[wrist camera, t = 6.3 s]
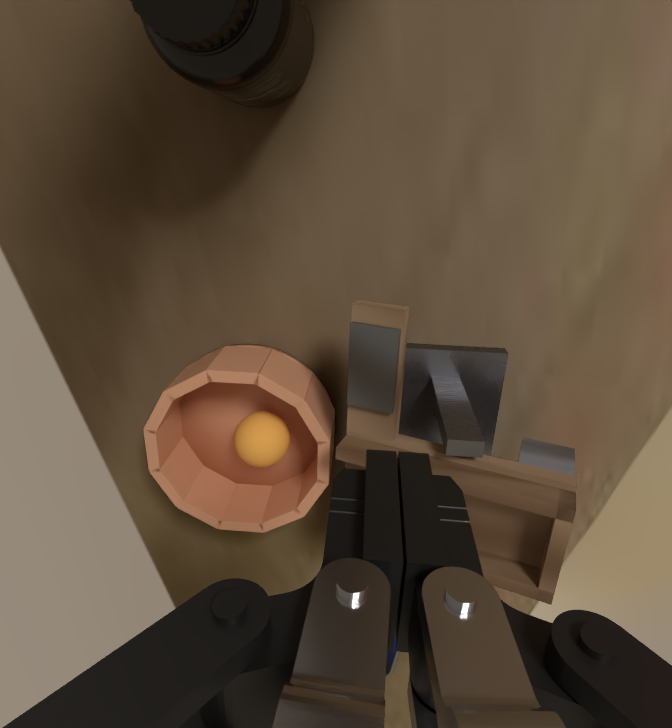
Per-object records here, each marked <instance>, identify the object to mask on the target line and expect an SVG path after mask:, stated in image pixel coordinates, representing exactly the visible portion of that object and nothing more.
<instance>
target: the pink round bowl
mask: <svg viewBox="0 0 672 728" xmlns="http://www.w3.org/2000/svg"><path fill="white" fill-rule="evenodd" d="M260 411H266V412H271V413H273V414H276V415H277V416H279V417H280V418H281V419H282V420H283V421H284V422H285V424H286V425H287V427H288V430H289V434H290V444H289V448H288V450H287V452H286V454H285V455H284V457H283V458H282V459H281V460H280V461H278V462H277V463H275V464H274V465H271V466H268V467H255V466H252V465H249V464H248V463H246V462H245V461H243V460H242V459H241V458H240V456H239V455H238V453H237V451H236V448H235V445H234V435H235V431H236V428H237V426H238V425H239V423H240V422H241V421H242V420H243V419H244V418H245V417H246V416H248V415H250V414H252V413H255V412H260ZM334 431H335V409H334V407H333V405H332V403H331V400H330V397H329V395H328V393H327V391H326V389H325V387H324V386H323V384H322V383H321V381H320V380H319V379H318V377H317V376H316V375H315V374H314V373H313V372H312V371H311V370H310V369H309V368H308V367H307V366H306V365H304V364H303V363H302V362H300V361H299V360H297V359H296V358H294V357H293V356H291V355H289V354H287V353H285V352H282V351H280V350H277V349H274V348H271V347H267V346H263V345H255V344H238V345H230V346H224V347H222V348H219V349H216V350H214V351H212V352H209V353H208V354H206V355H204V356H203V357H201V358H200V359H198V360H197V361H195V362H193V363H191V364H189V365H188V366H187V367H186V368H185V369H184V370H183V371H182V372H181V373H180V374H179V375H178V376H177V378H176V379H175V380H174V381H173V382H172V383H171V384H170V385H169V386H168V387H167V388H166V390H165V391H164V392H163V393H162V395H161V397H160V399H159V401H158V403H157V405H156V407H155V408H154V410H153V412H152V414H151V416H150V418H149V420H148V422H147V423H146V425H145V427H144V437H145V445H146V452H147V460H148V468H149V471H150V473H151V475H152V476H153V477H154V479H155V480H156V481H157V483H158V484H159V485H160V487H161V488H162V489H163V490H164V492H165V493H166V494H167V496H168V497H169V498H170V500H171V501H172V502H173V504H174V505H175V506H176V507H177V506H178V507H177V508H178V509H180V510H182V511H184V512H186V513H188V514H190V515H192V516H194V517H196V518H197V519H199V520H201V521H203V522H205V523H207V524H209V525H211V526H213V527H215V528H216V529H221V530H234V531H248V532H261V533H263V532H267V531H269V530H272V529H274V528H277V527H279V526H282V525H285V524H287V523H290V522H292V521H295V520H297V519H300V518H302V517H304V516H305V515H306V513H307V512H308V511H309V510H310V508H311V507H312V506H313V504H314V503H315V502H316V500H317V499H318V498H319V496H320V495H321V494H322V492H323V491H324V490H325V488H326V487H327V486H328V484H329V478H330V471H331V465H332V458H333V451H334Z"/></svg>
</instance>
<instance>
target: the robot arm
mask: <svg viewBox="0 0 672 728" xmlns="http://www.w3.org/2000/svg"><path fill="white" fill-rule="evenodd" d="M395 634H396V651H399V652H409V663H410V675H409V682H408V689H407V692H408V702H409V710H410V718H411V725H412V728H672V666H671V665H670V664H669V663H667V662H666V661H665V660H663V659H662V658H661V657H659V656H658V655H657V654H656V653H654V652H653V651H652V650H650V649H649V648H648V647H646V646H645V645H644V644H643V643H641V642H640V641H638V640H637V639H636V638H635V637H633V636H632V635H631V634H629V633H628V632H627V631H625V630H624V629H623V628H622V627H620V626H619V625H617V624H616V623H614V622H613V621H611V620H609V619H608V618H606V617H604V616H601V615H599V614H597V613H593V612H590V611H584V610H569V611H566V612H563V613H562V614H560V615H558V616H557V617H556V619H555V620H554V622H553V623H549V622H547V621H544V620H541V619H538V618H536V617H533V616H530V615H528V614H525V613H523V612H520V611H518V610H516V609H514V608H512V607H510V606H509V605H507V604H506V603H504V602H503V601H502V600H501V599H500V597H499V595H498V593H497V591H496V590H495V588H494V587H493V586H492V585H491V583H490V582H489V581H487V580H486V579H485V578H484V576H483V572H482V568H481V564H480V560H479V556H478V552H477V548H476V544H475V540H474V536H473V532H472V528H471V524H470V519H469V515H468V511H467V510H466V503H465V499H464V495H463V491H462V490H461V488H460V487H459V486H458V485H457V484H456V482H455V481H454V480H453V479H452V478H451V477H450V476H443V475H432V469H431V463H430V457H429V454H428V453H416V452H402V451H398V455H397V454H396V451H386V450H372V449H367V450H366V463H365V470H361V469H348V468H344V469H343V470H342V471H341V472H340V474H339V475H338V476H337V477H336V478H335V480H334V481H333V488H332V496H331V504H330V513H329V519H328V527H327V535H326V542H325V550H324V558H323V563H322V567H321V569H320V571H319V573H318V574H317V576H316V577H315V578H314V579H313V580H312V581H311V582H310V583H308V584H307V585H305V586H304V587H302V588H300V589H297V590H295V591H292V592H288V593H283V594H278V595H273V596H268V595H267V593H266V592H265V590H264V589H263V588H262V587H260V586H259V585H258V584H256V583H254V582H252V581H249V580H245V579H226V580H222V581H219V582H216V583H214V584H212V585H210V586H208V587H207V588H205V589H204V590H202V591H201V592H199V593H198V594H196V595H195V596H194V597H192V598H191V599H189V600H188V601H186V602H185V603H183V604H182V605H180V606H179V607H178V608H176V609H175V610H173V611H172V612H170V613H169V614H168V615H166V616H164V617H163V618H162V619H160V620H159V621H157V622H156V623H154V624H153V625H151V626H150V627H148V628H147V629H146V630H144V631H143V632H141V633H140V634H138V635H137V636H135V637H134V638H132V639H131V640H129V641H128V642H127V643H125V644H124V645H122V646H121V647H119V648H118V649H117V650H115V651H113V652H112V653H111V654H109V655H108V656H106V657H105V658H103V659H102V660H100V661H99V662H97V663H96V664H95V665H93V666H92V667H91V668H89V669H87V670H86V671H84V672H83V673H82V674H80V675H79V676H77V677H76V678H74V679H73V680H71V681H70V682H68V683H67V684H66V685H64V686H63V687H61V688H60V689H58V690H57V691H55V692H54V693H52V694H51V695H49V696H48V697H47V698H45V699H44V700H42V701H41V702H39V703H38V704H37V705H35V706H33V707H32V708H30V709H29V710H28V711H26V712H25V713H23V714H22V715H20V716H19V717H17V718H16V719H14V720H13V721H12V722H10V723H9V724H7V725H6V726H4V727H3V728H384V718H385V700H384V693H385V676H386V664H387V655H388V651H393V645H394V637H395Z"/></svg>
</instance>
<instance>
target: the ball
mask: <svg viewBox="0 0 672 728" xmlns="http://www.w3.org/2000/svg"><path fill="white" fill-rule="evenodd" d="M289 444H290V434H289V430H288V427H287V425H286V424H285V422H284V421H283V420H282V419H281V418H280V417H279V416H277V415H276V414H273V413H271V412H266V411H260V412H255V413H252V414H250V415H248V416H246V417H245V418H244V419H243V420H242V421H241V422H240V423H239V425H238V426H237V428H236V431H235V435H234V445H235V448H236V451H237V453H238V455H239V456H240V458H241V459H242V460H243V461H245V462H246V463H248V464H249V465H252V466H255V467H268V466H271V465H274V464H275V463H277V462H278V461H280V460H281V459H282V458H283V457H284V455H285V454H286V452H287V450H288V448H289Z"/></svg>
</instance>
